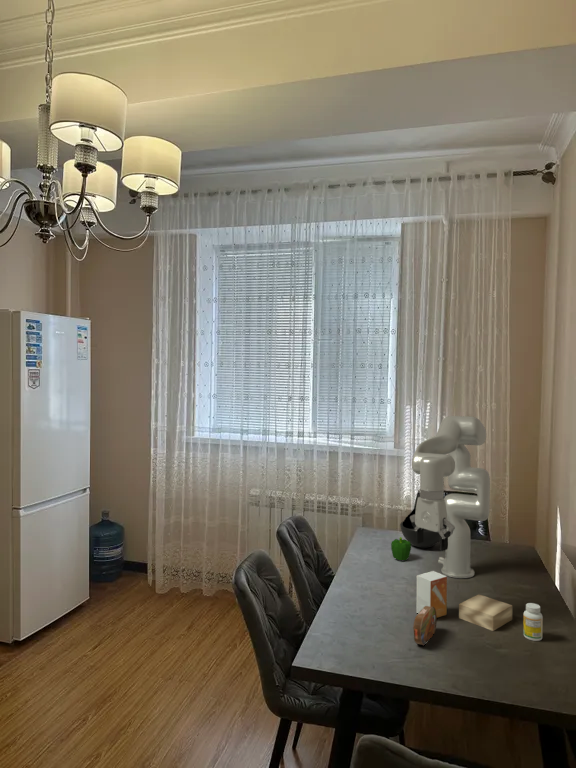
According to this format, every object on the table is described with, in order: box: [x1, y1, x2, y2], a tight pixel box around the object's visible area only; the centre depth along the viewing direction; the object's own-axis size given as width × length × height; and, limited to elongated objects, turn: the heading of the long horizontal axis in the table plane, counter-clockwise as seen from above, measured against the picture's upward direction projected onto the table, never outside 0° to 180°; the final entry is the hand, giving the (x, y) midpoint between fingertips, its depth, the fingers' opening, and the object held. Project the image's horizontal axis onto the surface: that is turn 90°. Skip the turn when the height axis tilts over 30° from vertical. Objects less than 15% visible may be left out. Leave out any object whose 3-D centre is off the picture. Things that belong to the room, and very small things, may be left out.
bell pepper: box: [390, 536, 412, 561], centre depth 238 cm, size 8×8×10 cm
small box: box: [415, 570, 448, 619], centre depth 184 cm, size 8×6×13 cm
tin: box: [412, 606, 438, 646], centre depth 168 cm, size 15×3×8 cm, turn 148°
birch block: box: [458, 593, 513, 631], centre depth 181 cm, size 12×12×5 cm
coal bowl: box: [399, 506, 444, 549], centre depth 255 cm, size 20×20×19 cm
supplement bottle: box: [522, 602, 544, 642], centre depth 168 cm, size 5×5×10 cm
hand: (431, 546), depth 184 cm, fingers open, 9 cm apart
